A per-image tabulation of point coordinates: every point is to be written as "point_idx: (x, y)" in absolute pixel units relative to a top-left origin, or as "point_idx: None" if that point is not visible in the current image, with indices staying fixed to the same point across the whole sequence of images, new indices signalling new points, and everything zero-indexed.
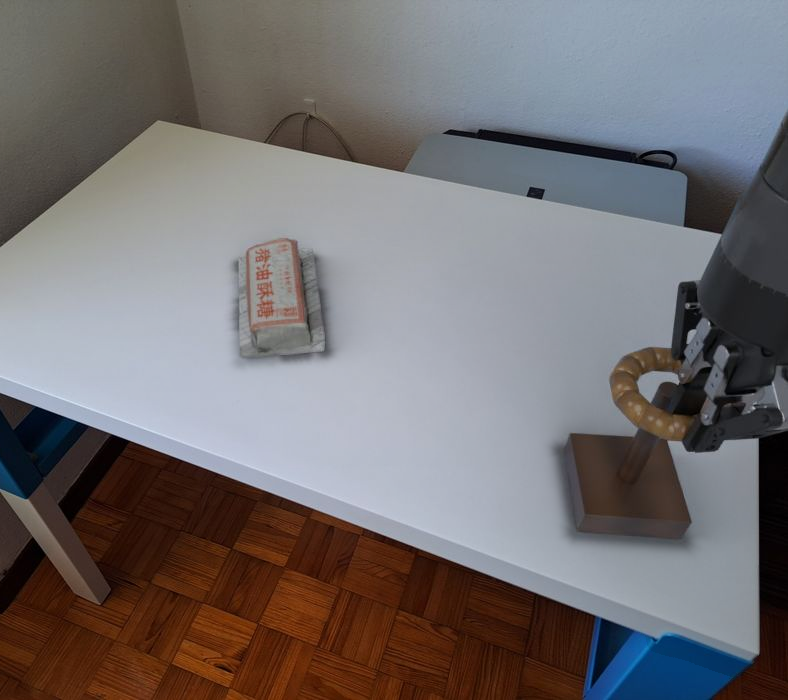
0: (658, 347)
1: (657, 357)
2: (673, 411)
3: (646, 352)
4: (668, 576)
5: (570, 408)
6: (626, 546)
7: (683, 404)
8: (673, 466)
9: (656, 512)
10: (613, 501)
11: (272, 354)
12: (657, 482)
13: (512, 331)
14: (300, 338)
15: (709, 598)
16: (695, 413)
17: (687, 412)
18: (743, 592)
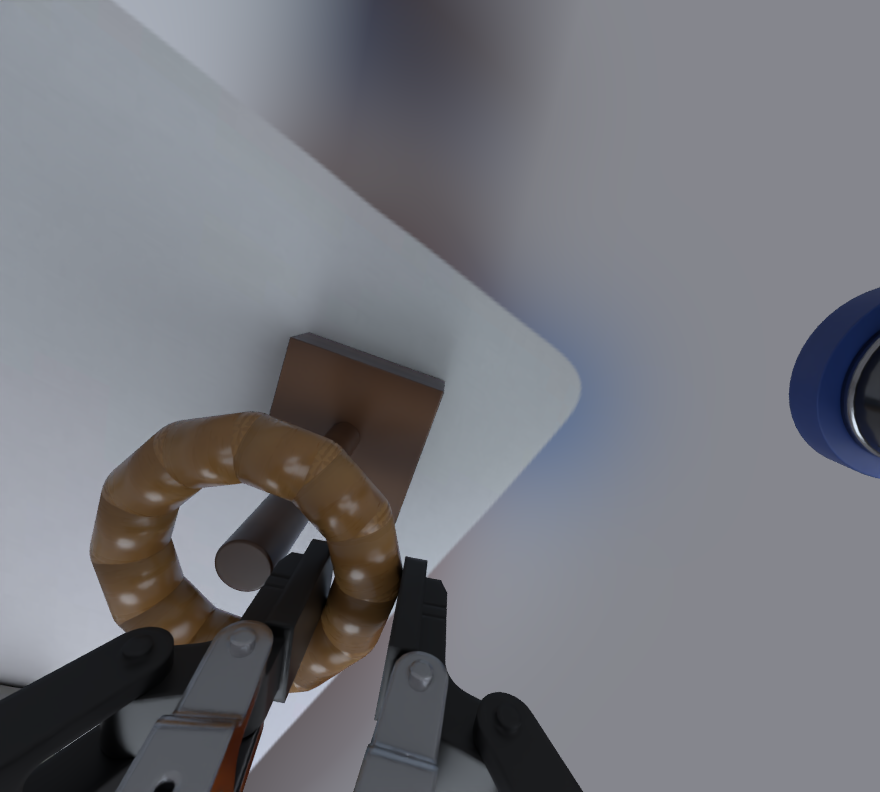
0: (94, 540)
1: (131, 560)
2: (316, 625)
3: (111, 587)
4: (488, 426)
5: (196, 411)
6: (435, 454)
7: (309, 634)
8: (344, 359)
9: (415, 432)
10: (382, 480)
11: (51, 756)
12: (367, 400)
13: (19, 422)
14: None
15: (530, 394)
16: (328, 564)
17: (323, 586)
18: (537, 346)
